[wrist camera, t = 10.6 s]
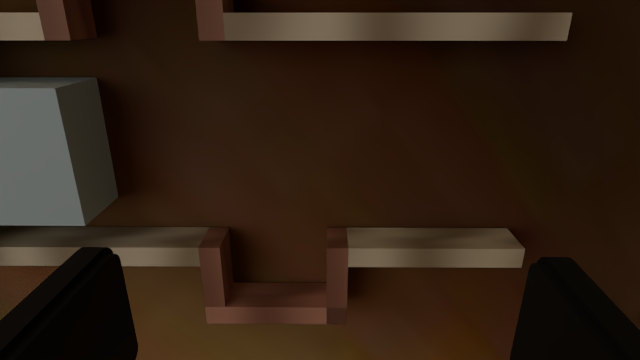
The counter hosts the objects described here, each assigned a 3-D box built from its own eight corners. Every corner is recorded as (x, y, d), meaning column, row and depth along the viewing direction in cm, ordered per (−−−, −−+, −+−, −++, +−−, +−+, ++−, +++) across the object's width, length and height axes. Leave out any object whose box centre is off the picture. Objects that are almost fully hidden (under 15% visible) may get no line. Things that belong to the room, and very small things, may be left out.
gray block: (98, 77, 23) (55, 88, 19) (120, 195, 25) (85, 226, 22) (-30, 76, 23) (-98, 88, 19) (4, 194, 25) (-50, 225, 22)
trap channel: (561, -78, 20) (616, -100, 16) (494, 299, 28) (520, 342, 24) (-105, -77, 20) (-203, -99, 16) (12, 296, 28) (-36, 340, 24)
